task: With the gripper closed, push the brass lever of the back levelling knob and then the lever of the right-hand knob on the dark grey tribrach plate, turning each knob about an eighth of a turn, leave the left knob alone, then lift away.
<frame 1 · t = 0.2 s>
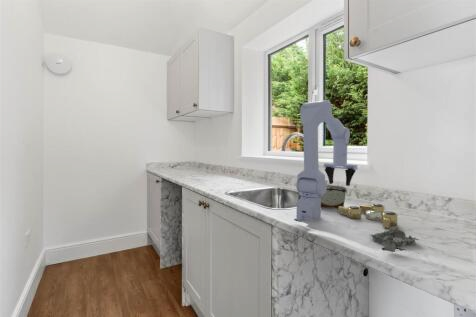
hand: (339, 184, 113), 10 cm above the worktop, tool pointing down, fingers open, 7 cm apart
knob right: (388, 219, 83), point 3 cm above the worktop, hinge at 0.0°
knob left: (349, 211, 94), point 3 cm above the worktop, hinge at 0.0°
food container: (330, 209, 109), on the worktop
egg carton: (393, 247, 70), on the worktop
tribrach plate: (373, 221, 91), on the worktop
knob back: (371, 208, 97), point 3 cm above the worktop, hinge at 0.0°
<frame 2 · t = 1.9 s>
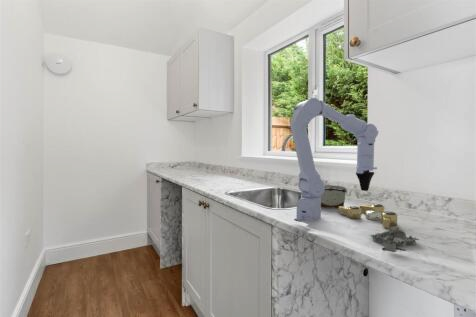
hand: (364, 190, 97), 10 cm above the worktop, tool pointing down, fingers closed
nothing on the worktop moved.
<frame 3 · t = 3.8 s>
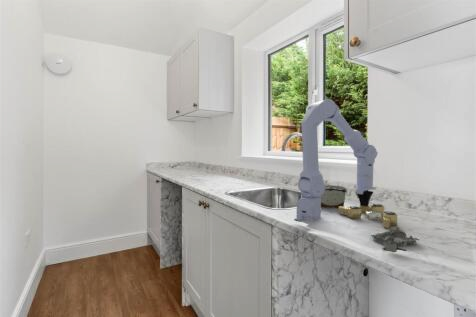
hand: (364, 209, 99), 2 cm above the worktop, tool pointing down, fingers closed, pressing on knob back
knob back: (371, 209, 97), point 3 cm above the worktop, hinge at 6.4°, touching gripper
everything else where it was.
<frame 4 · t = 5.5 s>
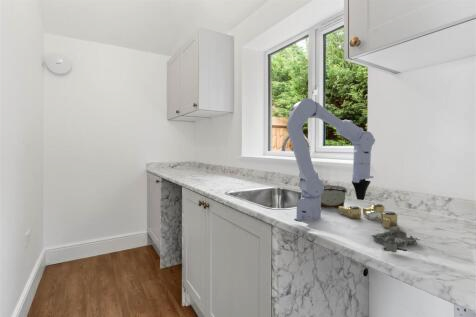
hand: (360, 199, 95), 7 cm above the worktop, tool pointing down, fingers closed
knob back: (373, 210, 95), point 3 cm above the worktop, hinge at 58.6°, touching tribrach plate
everything else where it was.
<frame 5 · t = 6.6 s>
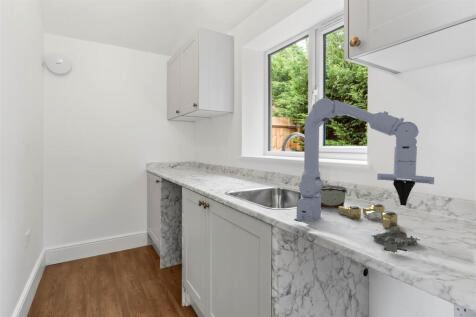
hand: (403, 204, 78), 9 cm above the worktop, tool pointing down, fingers closed
knob back: (373, 210, 95), point 3 cm above the worktop, hinge at 58.4°
everything else where it was.
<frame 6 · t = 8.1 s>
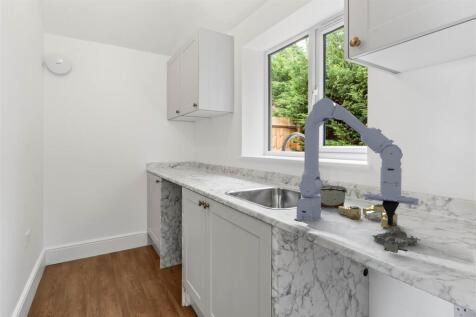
hand: (390, 224, 81), 2 cm above the worktop, tool pointing down, fingers closed, pressing on knob right
knob right: (387, 219, 83), point 3 cm above the worktop, hinge at -4.2°, touching gripper
everything else where it was.
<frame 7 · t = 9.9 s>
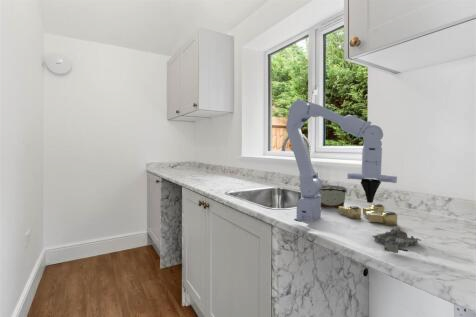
hand: (370, 202, 84), 9 cm above the worktop, tool pointing down, fingers closed
knob right: (382, 217, 85), point 3 cm above the worktop, hinge at -72.4°
everything else where it was.
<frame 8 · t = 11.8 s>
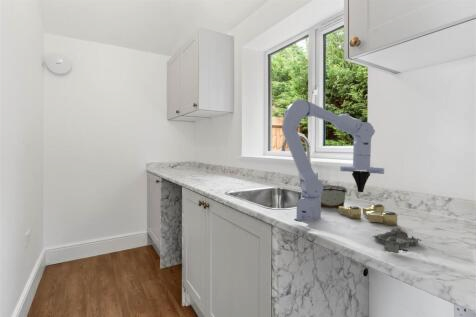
hand: (360, 191, 93), 10 cm above the worktop, tool pointing down, fingers closed
nothing on the worktop moved.
at the end: knob back at +58° (first picture: +0°); knob right at -73° (first picture: +0°); knob left at +0° (first picture: +0°) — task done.
